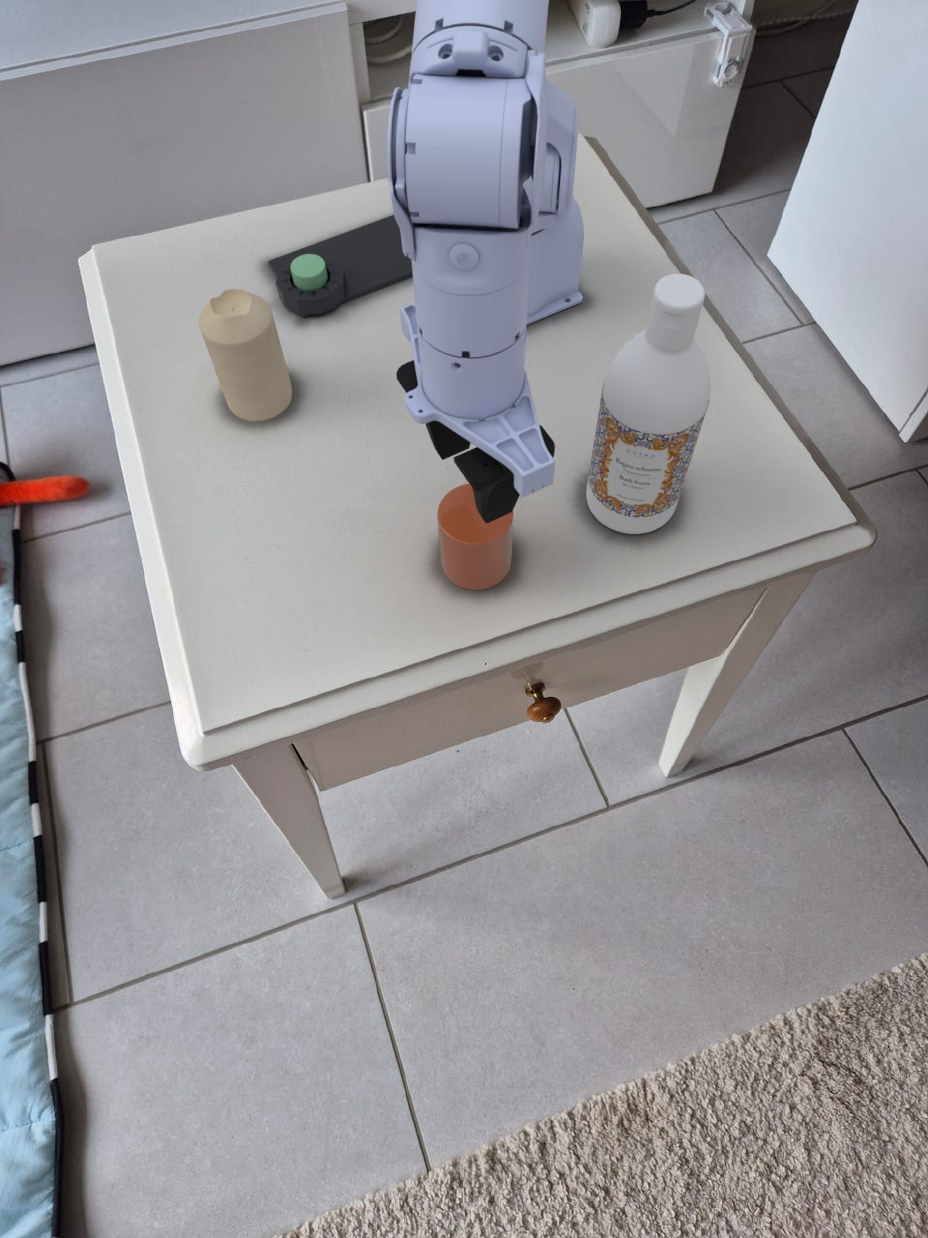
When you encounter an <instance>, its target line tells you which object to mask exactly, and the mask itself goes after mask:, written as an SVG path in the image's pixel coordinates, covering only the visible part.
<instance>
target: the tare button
mask: <svg viewBox="0 0 928 1238" xmlns="http://www.w3.org/2000/svg"><path fill="white" fill-rule="evenodd" d="M291 273H292V277H293V281H294V284H295V286H296V287H297V288H298V289H300V290H302V291H314V290H316V289H319V288H322V287H323V286H324V285H325V284H326V283H327V280H328V277H327V271H326V266H325V262H324V260H323V259H322V258H321V257H320V256H318V255H314V254H305V255H301V256H299V257H297V258H295V259H294V260H293V262H292V263H291Z"/></svg>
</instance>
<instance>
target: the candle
mask: <svg viewBox="0 0 928 1238" xmlns="http://www.w3.org/2000/svg"><path fill="white" fill-rule="evenodd" d="M198 328H199V331H200V333H201V336H202V339H203V341H204V343H205V347H206V349H207V352H208V356H209V359H210V361H211V364H212V366H213V369H214V372H215V375H216V378H217V381H218V384H219V387H220V388H221V391H222V394H223V396H224V399H225V402H226V404H227V407H228V408H229V410H230V411H231V412H232V414H233V415H235V416H236V417H237V418H239V419H241V420H244V421H248V422H264V421H268V420H271V419H273V418H276V417H278V416H280V415H281V414H282V413H284V412H285V410H287V408H288V407H289V406H290V404H291V402H292V399H293V388H292V382H291V378H290V374H289V370H288V368H287V364H286V360H285V355H284V352H283V348H282V345H281V341H280V337H279V333H278V329H277V326H276V321H275V318H274V314H273V311H272V308H271V306H270V304H269V302H268V301H267V300H266V299H264V298H263V297H261V296H260V295H257V294H255V293H252V292H249V291H247V290H245V289H243V288H230V289H229V288H228V289H225V290H223V291H222V292H221V293H220V294H219V295H217V296H216V297H212V298H211V299H210V300H209V302H208V303H207V304H206V305H205V306H204V307H203V309H202V310H201V312H200V313H199V317H198Z"/></svg>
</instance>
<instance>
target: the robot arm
mask: <svg viewBox="0 0 928 1238" xmlns="http://www.w3.org/2000/svg"><path fill="white" fill-rule="evenodd" d="M549 3H550V0H416V5H415V6H416V7H415V15H414V27H413V36H412V46H411V55H410V56H411V57H410V64H409V65H410V66H409V75H408V85H407V86H408V87H407V88H404V89H403V88H402V87H400V86H397V87H395V88H394V90H393V92H392V96H391V99H390V100H391V102H390V106H389V112H388V118H387V128H386V129H387V131H386V167H387V168H386V171H387V181H388V188H389V194H390V201H391V206H392V207H391V208H392V212H393V215H394V216H395V219H396V222H397V224H398V225H399V228H400V232H401V239H402V249H403V253H404V255H405V256H408V257H409V258H410V259H411V260H412V272H413V277H412V281H413V282H412V283H413V293H414V295H413V296H414V301H413V302H410V303H408V304H405V305H402V306H401V307H399V314H400V324H401V333H402V334H403V335H404V337H405V338H406V340H407V341H409V342H410V345H411V351H412V357H413V359H412V360H410V361H407V362H405V363H403V364H401V365H400V366H399V367H398V369H397V371H396V380H397V382H398V383H399V385H400V386H401V387H402V389H403V390H404V392H405V394H404V396H403V400H404V406H405V409H406V410H407V412H408V413H409V415H410V416H411V417H412V419H413V421H414V422H415V423H417V424H418V425H425V427H426V431H427V432H428V435H429V438H430V441H431V443H432V446H433V448H434V451H436V453H437V454H438V456H439V457H440V459H441V460H442V461H444V460H446V459H449V458H451V457H453V463H454V464H455V466H456V468H458V470H459V471H460V473H461V474H462V476H463V477H464V479H465V480H466V482H467V483H468V484H470V485H471V486H472V489H473V493H474V498H475V503H476V507H477V510H478V512H479V514H480V516H481V517H482V519H483V520H484V522H485V523H490V522H492V521H494V520H496V519H498V518H500V517H503V516H505V515H507V514H509V513H511V512H512V511H513V512H514V509H515V506H516V505H517V502H518V500H519V498H520V497H521V498H524V497H527V496H530V495H531V494H534V493H536V492H538V491H541V490H542V489H543V490H544V488H546V487H549V486H551V485H553V484H554V477H555V476H554V475H555V467H556V460H555V458H554V457H555V453H556V445H555V442H554V439H553V438H552V437H551V436H550V435H549V433H548V432H547V430H546V429H545V428H544V427H543V425H541V424H540V423H539V422H540V421H539V418H538V414H537V410H536V406H535V402H534V398H533V394H532V391H531V386H530V382H529V379H528V375H527V371H526V367H525V365H526V362H525V361H526V343H527V327H528V326H527V325H530V324H532V323H534V322H535V323H536V322H537V321H539V320H542V319H544V318H547V317H549V316H551V315H554V314H556V313H559V312H561V311H564V310H566V309H568V308H571V307H573V306H576V305H578V304H580V303H582V302H583V299H584V295H583V294H582V293H581V292H580V291H579V287H580V277H581V269H582V260H583V250H584V242H585V227H584V219H583V216H582V211H581V208H580V206H579V204H578V201H577V200H576V198H575V196H574V184H575V174H576V173H575V172H576V164H577V163H576V162H577V151H578V150H577V149H578V138H579V133H578V121H579V120H578V119H579V110H578V109H577V108H576V101H575V99H573V98H572V96H570V95H569V94H568V93H567V92H565V91H564V90H562V89H561V88H560V87H558V86H557V85H556V84H554V83H553V82H552V81H550V80H549V79H548V78H546V37H547V28H548V27H547V26H548V15H549ZM471 444H472V445H474V446H475V447H473V448H472V449H470V446H471ZM469 449H470V450H469Z"/></svg>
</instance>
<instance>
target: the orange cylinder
mask: <svg viewBox="0 0 928 1238" xmlns="http://www.w3.org/2000/svg"><path fill="white" fill-rule="evenodd" d="M437 529H438V539H439V540H438V541H439V542H438V543H439V552H440V553H439V554H440V564H441V569H442V572H443V573H444V575H445V577H446V578H447V579H448V580H449V581H450V582H451V583H452V584H454V585H456V586H457V587H459V588H461V589H464V590H470V591H483V590H486V589H491V588H493V587H495V586H497V585H498V584H500V583H501V582H502V581H503V580H504V579H505V578H506V577H507V575H508V573H509V572H510V569H511V565H512V554H513V553H512V552H513V532H514V531H513V530H514V510H513V511H512V512H511V513H509V514H507V515H505V516H503V517H500V518H498V519H496V520H494V521H492V522H490V523H485V522H484V520H483V519H482V517H481V516H480V514H479V512H478V510H477V507H476V503H475V498H474V493H473V489H472V486H471V485H470V484H469V483H464V484H461V485H458V486H456V487H454V488H452V489H451V490H450V491H448V492H447V493H446V494H445V495H444V496H443V497H442V499H441V501H440V502H439V504H438V508H437Z"/></svg>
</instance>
